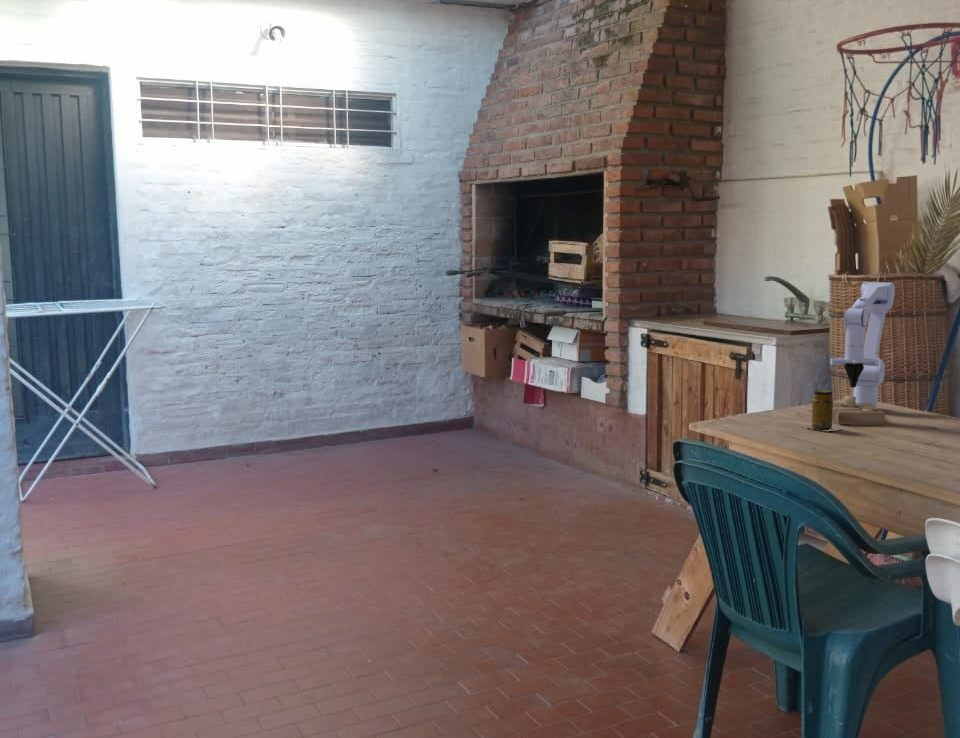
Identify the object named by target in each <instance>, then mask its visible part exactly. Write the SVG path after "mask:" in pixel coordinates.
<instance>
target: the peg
mask: <svg viewBox="0 0 960 738" xmlns="http://www.w3.org/2000/svg"><path fill="white" fill-rule="evenodd" d="M843 403H844V407H855V405H856V397H854V396H853V395H845V396H843Z"/></svg>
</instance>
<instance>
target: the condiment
mask: <svg viewBox="0 0 960 738" xmlns="http://www.w3.org/2000/svg"><path fill="white" fill-rule="evenodd" d="M813 395H814V396H813V399H812V402H811V403H812V406H811V407H812V409H811V427H812V428H813V429H819V430H818V431H821V430H829V429H832V428H833V420H832V413H833V403H834V400H833V392H832V391H831V390H827V389H817V390H816V389H815V390H814V392H813ZM831 427H832V428H831ZM832 430H833V429H832ZM821 432H822V431H821ZM826 432H827V433H829V432H828V431H826ZM826 432H825V433H826Z"/></svg>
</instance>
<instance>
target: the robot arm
mask: <svg viewBox="0 0 960 738" xmlns="http://www.w3.org/2000/svg"><path fill="white" fill-rule="evenodd" d="M895 290H896V289H895V283H893V282H875V281H874V282H871V281H864V282H863V283H862V285H861V289H860V296H859V298H857V299H856V301H855V302H854V304H853V305H852V306H851V307H849V308H847V309H845V311H844V315H843V322H844V331H845V343H844V344H845V346H844V349H845V350H844V357H837V358H834V357H832V358H830V360H829V361H830V362H829V364H830V366H836V365H837V366H838V365H839V366H842V365H843V368H844V370H845V372H846V374H847V377H848V381H849V387H850V388H853V394H852V396H854V397H856V403H871V404H872V405H874V406H875V407H877V408H878V405H879V404H878V401H879V385H881V384H882V383H884V379H885V374H886V373H885V369H886V365H885V362H884V361H883V360H882V359H881V358H880V357H879V351H880V346H881V342H882V341H881V339H882V335H883V330H884V329H883V328H884V324H885V323H884V322H885V317H886V314H887V312H888V311H889V310H891V309H892V308H893V305H894V300H895V293H896V291H895ZM866 326H867V330H866Z"/></svg>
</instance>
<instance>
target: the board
mask: <svg viewBox="0 0 960 738" xmlns="http://www.w3.org/2000/svg"><path fill="white" fill-rule="evenodd" d="M885 413H886V412H884V411H883V410H882V409H880V408H878V406H877V407H875V406H874V405H872V404H871V403H856V405H855V407H844V402H833V413H832V419H833V420H835V421H836V422H837V423H838V424H851V425H850V426H885V415H886V414H885ZM833 420H832V421H833ZM836 422H835V423H836ZM837 423H836V424H837ZM838 424H837V425H838Z"/></svg>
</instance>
